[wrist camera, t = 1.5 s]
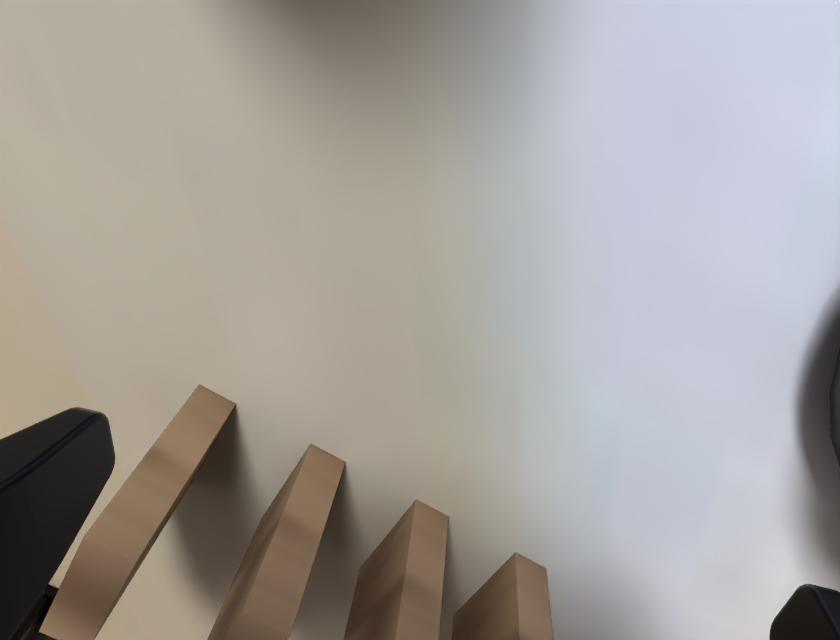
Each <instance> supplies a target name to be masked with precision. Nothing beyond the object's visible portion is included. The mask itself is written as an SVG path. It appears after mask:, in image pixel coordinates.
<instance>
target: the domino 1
mask: <svg viewBox="0 0 840 640" xmlns="http://www.w3.org/2000/svg"><path fill="white" fill-rule="evenodd" d="M234 406H235V403H234V402H232V401H230V400H228V399H226V398H224V397H222V396H220V395H218V394H217V393H215V392H213V391H211V390H209V389H207V388H205V387H203V386H202V385H200V384H199V385H198V387H197V388H196V389H195V391H194V392H193V393H192V395H191V396H190V397H189V399H188V400H187V401H186V403H185V404H184V405H183V407H182V408H181V409H180V411H179V412H178V413H177V414H176V416H175V417H174V418H173V420H172V421H171V422H170V424H169V425H168V426H167V428H166V429H165V430H164V432H163V433H162V434H161V436H160V437H159V438H158V439H157V441H156V442H155V443H154V445H153V446H152V447H151V449H150V450H149V451H148V453H147V454H146V455H145V457H144V458H143V459H142V461H141V462H140V463H139V464H138V466H137V467H136V468H135V470H134V471H133V472H132V474H131V475H130V476H129V478H128V479H127V480H126V482H125V483H124V484H123V486H122V487H121V488H120V490H119V491H118V492H117V493H116V495H115V496H114V497H113V499H112V500H111V501H110V503H109V504H108V505H107V507H106V508H105V509H104V511H103V512H102V513H101V515H100V516H99V517H98V518H97V520H96V521H95V522H94V524H93V525H92V526H91V528H90V529H89V530H88V532H87V533H86V534H85V536H84V537H83V539H82V541H81V543H80V546H79V548H78V550H77V552H76V554H75V556H74V558H73V560H72V562H71V564H70V567H69V569H68V571H67V573H66V575H65V577H64V579H63V581H62V583H61V586H60V588H59V590H58V592H57V594H56V596H55V598H54V600H53V602H52V605H51V607H50V609H49V611H48V613H47V615H46V617H45V619H44V621H43V623H42V626H41V628H40V630H39V632H41V633H43V634H46V635H48V636H50V637H52V638H55V639H57V640H94V639H95V638H96V636H97V634H98V633H99V631H100V629H101V628H102V626H103V625H104V623H105V621H106V620H107V618H108V617H109V615H110V613H111V612H112V610H113V608H114V607H115V605H116V604H117V602H118V600H119V599H120V597H121V596H122V594H123V592H124V591H125V589H126V588H127V586H128V584H129V583H130V581H131V579H132V578H133V576H134V575H135V573H136V571H137V570H138V568H139V567H140V565H141V563H142V562H143V560H144V559H145V557H146V555H147V554H148V552H149V550H150V549H151V547H152V546H153V544H154V542H155V541H156V539H157V538H158V536H159V534H160V533H161V531H162V529H163V528H164V526H165V525H166V523H167V521H168V520H169V518H170V517H171V515H172V513H173V512H174V510H175V509H176V507H177V505H178V504H179V502H180V500H181V499H182V497H183V496H184V494H185V492H186V491H187V489H188V488H189V486H190V484H191V483H192V481H193V479H194V477H195V476H196V474H197V472H198V470H199V468H200V467H201V465H202V463H203V461H204V460H205V458H206V456H207V454H208V452H209V451H210V449H211V447H212V445H213V444H214V442H215V440H216V438H217V436H218V435H219V433H220V431H221V429H222V427H223V426H224V424H225V422H226V420H227V419H228V417H229V415H230V413H231V411H232V410H233V408H234Z"/></svg>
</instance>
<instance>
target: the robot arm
mask: <svg viewBox="0 0 840 640" xmlns="http://www.w3.org/2000/svg"><path fill="white" fill-rule="evenodd" d="M114 464H115V452H114V447H113V441H112V436H111V431H110V425H109V421H108V418H107V417H106V416H105V414H103V413H101V412H97V411H93V410H89V409H85V408H80V407H75V408H71V409H68V410H65V411H63V412H61V413H59V414H56V415H54V416H52V417H50V418H47V419H45V420H43V421H41V422H38V423H36V424H34V425H32V426H30V427H27V428H25V429H23V430H21V431H18V432H16V433H14V434H12V435H9V436H7V437H5V438H3V439H0V640H57V639H55V638H52V637H50V636H48V635H46V634H43V633H41V632H39V630H40V628H41V626H42V623H43V621H44V619H45V617H46V615H47V613H48V611H49V609H50V607H51V605H52V602H53V600H54V598H55V596H56V594H57V592H58V591H57V590H55V589H53V588H51V587H48V586H47V584H48V583H49V581H50V580H51V579H52V577H53V575H54V574H55V572H56V570H57V569H58V567H59V565H60V564H61V562H62V560H63V559H64V557H65V555H66V553H67V552H68V550H69V548H70V546H71V545H72V543H73V541H74V539H75V537H76V536H77V534H78V532H79V530H80V529H81V527H82V525H83V523H84V521H85V520H86V518H87V516H88V514H89V513H90V511H91V509H92V507H93V505H94V504H95V502H96V500H97V498H98V497H99V495H100V493H101V491H102V489H103V488H104V486H105V484H106V482H107V481H108V479H109V477H110V475H111V473H112V471H113V468H114ZM770 640H840V592H838V591H836V590H832V589H828V588H824V587H820V586H816V585H811V584H804V585H802V586H800V587H798V588H797V590H796V591H795V592H794V594H793V595H792V596H791V597H790V599H789V600H788V601H787V603H786V604H785V605H784V607H783V608H782V609H781V611H780V612H779V613H778V615H777V616H776V617H775V619H774V621H773V623H772V625H771V629H770Z"/></svg>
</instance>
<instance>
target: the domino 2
mask: <svg viewBox="0 0 840 640" xmlns="http://www.w3.org/2000/svg"><path fill="white" fill-rule="evenodd" d="M344 465H345V462H344V461H343V460H341V459H339V458H337V457H335V456H333V455H331V454H329V453H328V452H326V451H324V450H322V449H320V448H318V447H316V446H314V445H313V444H311V445H310V446H309V448H308V449H307V451H306V452H305V454H304V455H303V457H302V458H301V460H300V461H299V463H298V464H297V466H296V467H295V469H294V470H293V472H292V473H291V475H290V476H289V478H288V479H287V481H286V482H285V484H284V485H283V487H282V488H281V490H280V491H279V493H278V494H277V496H276V497H275V499H274V500H273V502H272V503H271V505H270V506H269V508H268V509H267V511H266V512H265V514H264V516H263V517H262V519H261V521H260V523H259V525H258V527H257V530H256V532H255V534H254V536H253V539H252V541H251V543H250V545H249V548H248V550H247V552H246V554H245V557H244V559H243V561H242V563H241V565H240V568H239V570H238V572H237V574H236V577H235V579H234V581H233V583H232V586H231V588H230V590H229V592H228V595H227V597H226V599H225V601H224V604H223V606H222V608H221V610H220V613H219V615H218V617H217V619H216V622H215V624H214V626H213V628H212V630H211V633H210V635H209V637H208V639H207V640H287V639H288V637H289V636H290V634H291V631H292V628H293V625H294V622H295V619H296V616H297V612H298V609H299V606H300V603H301V600H302V597H303V594H304V590H305V587H306V584H307V581H308V578H309V575H310V572H311V568H312V565H313V562H314V559H315V556H316V553H317V550H318V546H319V543H320V540H321V537H322V534H323V531H324V528H325V525H326V521H327V518H328V515H329V512H330V509H331V506H332V503H333V499H334V496H335V493H336V490H337V487H338V484H339V481H340V477H341V474H342V471H343V468H344Z"/></svg>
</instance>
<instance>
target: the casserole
mask: <svg viewBox="0 0 840 640" xmlns="http://www.w3.org/2000/svg"><path fill="white" fill-rule="evenodd" d="M830 424H831V439H832V443H833V446H834V449H835V452H836V456H837V459H838V462H839V465H840V350H839V354H838V358H837V363H836V367H835V371H834V376H833V380H832V384H831V388H830Z"/></svg>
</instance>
